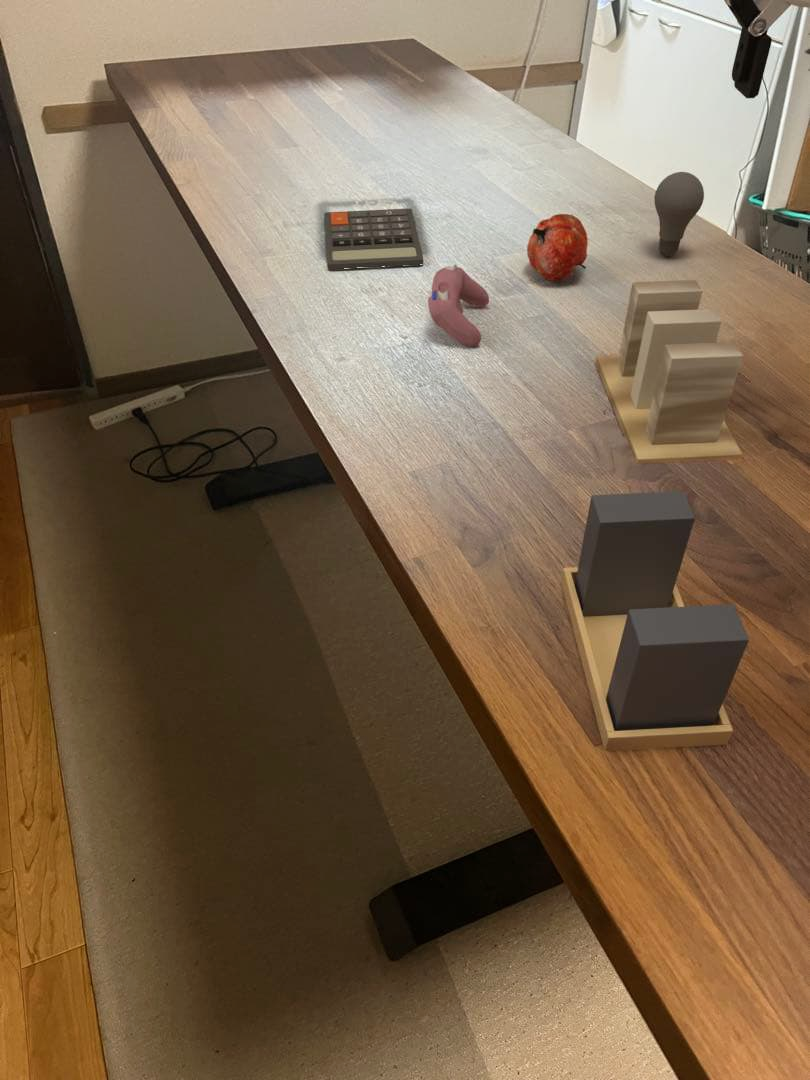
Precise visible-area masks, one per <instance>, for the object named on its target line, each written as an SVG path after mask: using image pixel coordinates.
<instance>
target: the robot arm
mask: <svg viewBox="0 0 810 1080" xmlns="http://www.w3.org/2000/svg"><path fill="white" fill-rule="evenodd" d="M724 2H725V5H726V6H727V7H728V8H729V11H730V12H731V13H732V16H734V18H735V20H736V22H737V24H738V26H740V27H741V31H740V34H739V39H738V43H737V48H736V52H735V56H734V61H733V65H732V70H731V80H732V82H733V85H734V88H735V89H736V90H737V91H738V92H739V93H740V94H741V95H742V96H743V97H744V98H745V99H755V98H756V97H758V95H759V94H760V89H761V86H762V82H763V78H764V73H765V70H766V66H767V62H768V58H769V55H770V51H771V46H772V43H773V39H772V37H771V36H770V35H768V31H769V28H771V26H772V25H774V24H775V22H776V21H777V20H778V19H779V18H781V16H782V15H783V14H784V13H786V11H787V10H788V9H789V8H790V7H791V6H794V7H797V8H810V0H724Z"/></svg>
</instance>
